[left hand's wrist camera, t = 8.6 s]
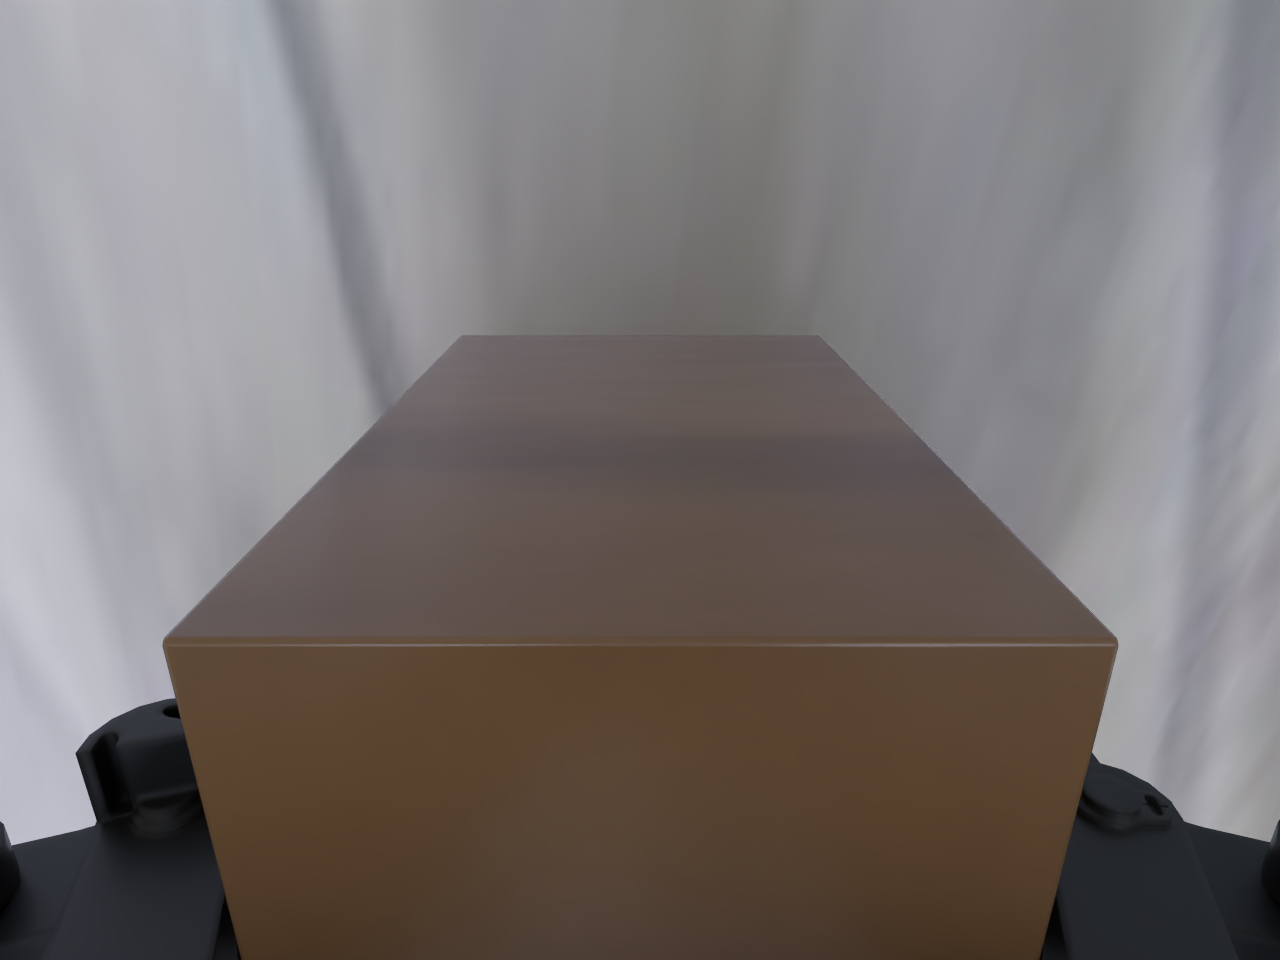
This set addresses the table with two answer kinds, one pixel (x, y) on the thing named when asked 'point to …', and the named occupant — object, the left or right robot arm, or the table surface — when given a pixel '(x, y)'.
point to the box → (640, 677)
